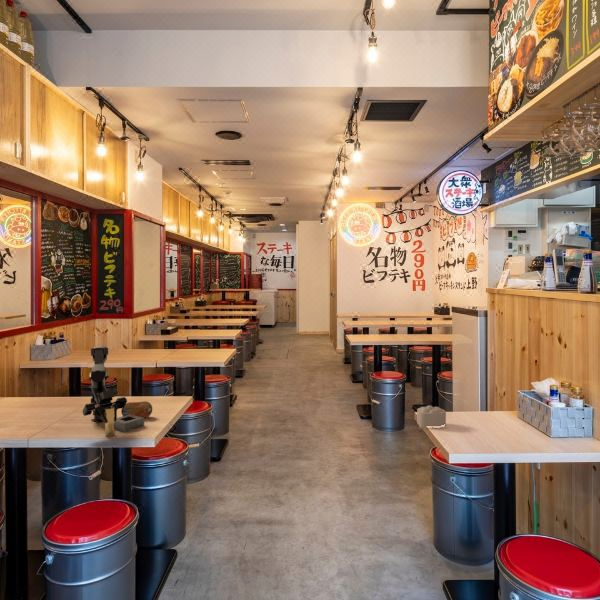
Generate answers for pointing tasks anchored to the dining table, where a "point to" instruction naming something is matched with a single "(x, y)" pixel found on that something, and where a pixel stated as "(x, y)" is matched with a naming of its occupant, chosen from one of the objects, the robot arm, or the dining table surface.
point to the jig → (128, 423)
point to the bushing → (109, 422)
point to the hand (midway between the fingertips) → (111, 421)
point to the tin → (137, 409)
